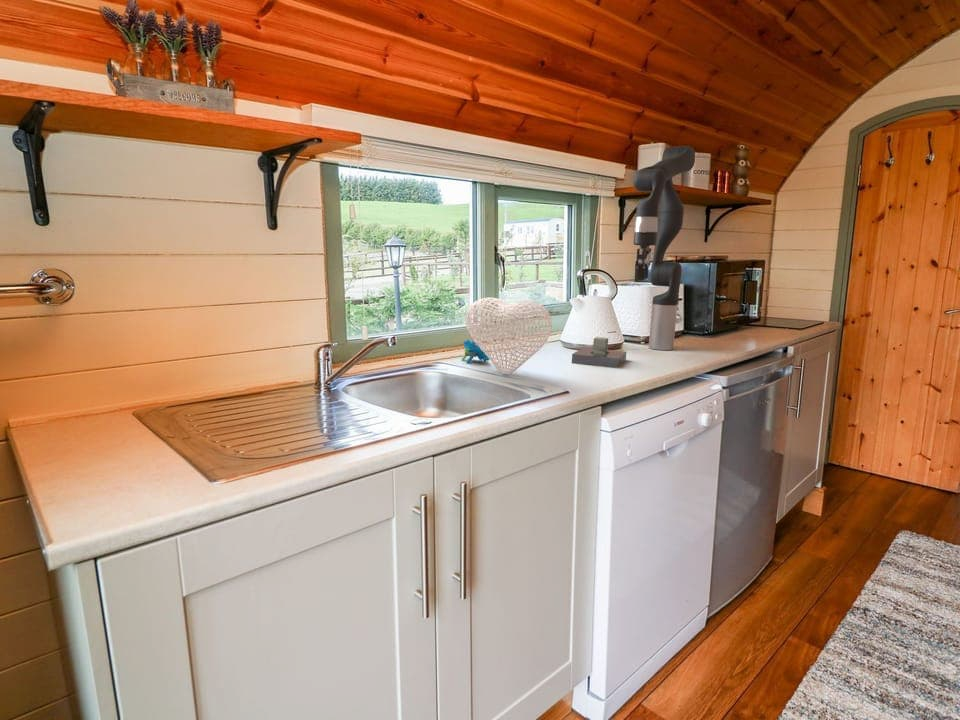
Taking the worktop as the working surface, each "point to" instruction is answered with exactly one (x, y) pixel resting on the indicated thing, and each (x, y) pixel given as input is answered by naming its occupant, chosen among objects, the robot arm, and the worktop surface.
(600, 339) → the peg
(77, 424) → the worktop surface
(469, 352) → the blue irregular piece
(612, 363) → the hole block
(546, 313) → the heart
